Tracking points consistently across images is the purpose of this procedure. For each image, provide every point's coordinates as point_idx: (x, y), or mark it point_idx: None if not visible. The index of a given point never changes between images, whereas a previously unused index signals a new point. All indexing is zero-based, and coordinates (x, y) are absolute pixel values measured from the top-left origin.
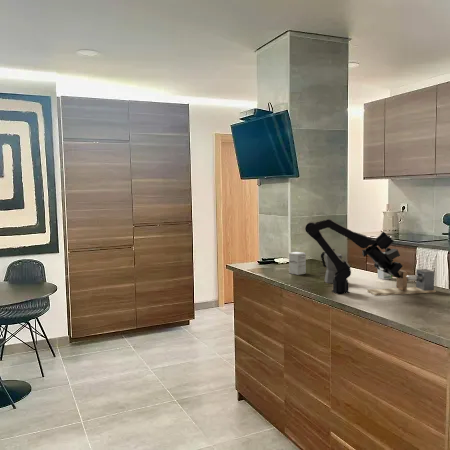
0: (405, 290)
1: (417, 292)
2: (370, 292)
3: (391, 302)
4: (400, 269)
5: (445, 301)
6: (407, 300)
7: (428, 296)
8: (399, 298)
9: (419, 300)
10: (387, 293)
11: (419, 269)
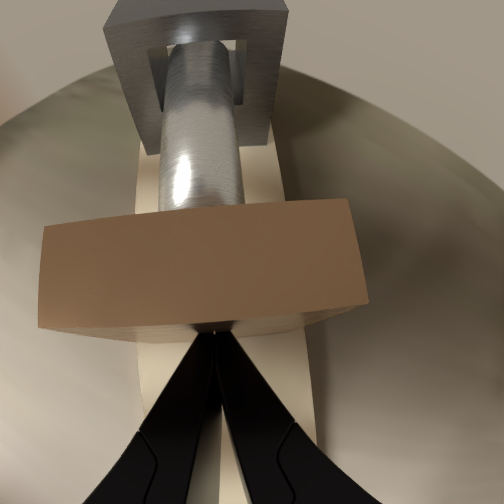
0: None
1: None
2: None
3: (488, 463)
4: (52, 235)
5: (466, 161)
6: (474, 365)
7: (378, 181)
8: (430, 409)
9: (473, 287)
10: None
11: (120, 11)
